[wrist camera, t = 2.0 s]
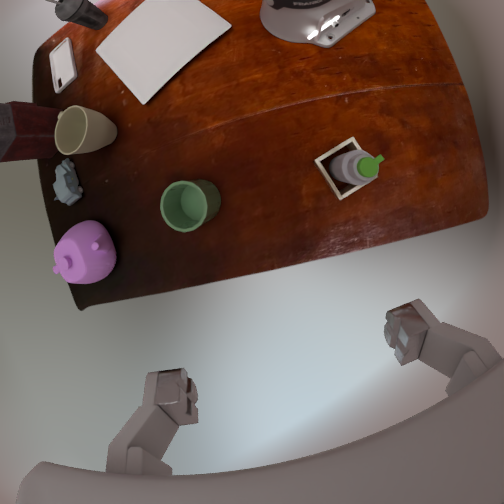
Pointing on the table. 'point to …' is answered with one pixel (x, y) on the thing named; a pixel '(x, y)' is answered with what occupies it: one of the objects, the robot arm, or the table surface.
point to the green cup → (190, 204)
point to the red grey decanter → (27, 131)
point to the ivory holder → (340, 194)
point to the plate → (159, 42)
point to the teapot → (85, 253)
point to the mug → (83, 131)
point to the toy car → (67, 183)
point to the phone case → (63, 65)
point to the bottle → (355, 167)
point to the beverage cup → (80, 13)
